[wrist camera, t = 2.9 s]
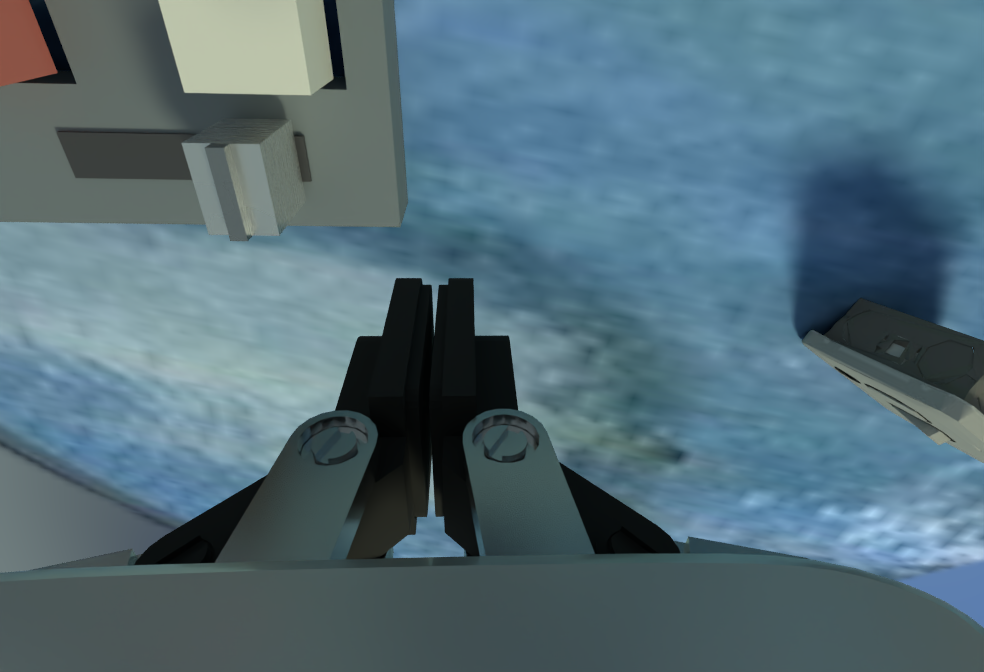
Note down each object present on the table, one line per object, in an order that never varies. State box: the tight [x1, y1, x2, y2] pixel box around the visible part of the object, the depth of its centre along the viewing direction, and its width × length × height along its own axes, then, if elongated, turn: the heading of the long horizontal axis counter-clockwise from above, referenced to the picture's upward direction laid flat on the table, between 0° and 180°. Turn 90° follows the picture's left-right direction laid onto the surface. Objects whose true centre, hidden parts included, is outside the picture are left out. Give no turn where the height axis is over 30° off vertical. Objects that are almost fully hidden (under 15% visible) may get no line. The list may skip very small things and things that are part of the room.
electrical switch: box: [802, 298, 984, 463], centre depth 27 cm, size 9×5×9 cm, turn 54°
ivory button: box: [158, 0, 333, 95], centre depth 17 cm, size 4×4×3 cm
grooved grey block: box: [182, 118, 306, 241], centre depth 19 cm, size 3×2×4 cm
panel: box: [0, 0, 408, 227], centre depth 21 cm, size 11×18×3 cm, turn 89°
